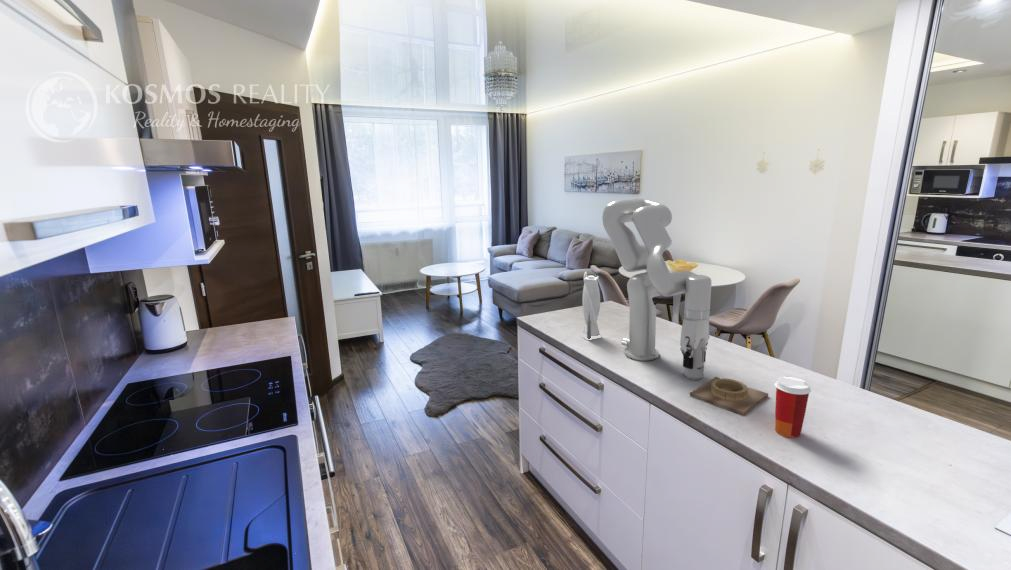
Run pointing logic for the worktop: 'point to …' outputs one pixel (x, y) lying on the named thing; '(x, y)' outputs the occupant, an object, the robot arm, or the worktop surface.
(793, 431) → the paper cup
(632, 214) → the robot arm
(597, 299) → the skyscraper
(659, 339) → the worktop surface
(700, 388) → the ring stand
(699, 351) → the energy drink can
